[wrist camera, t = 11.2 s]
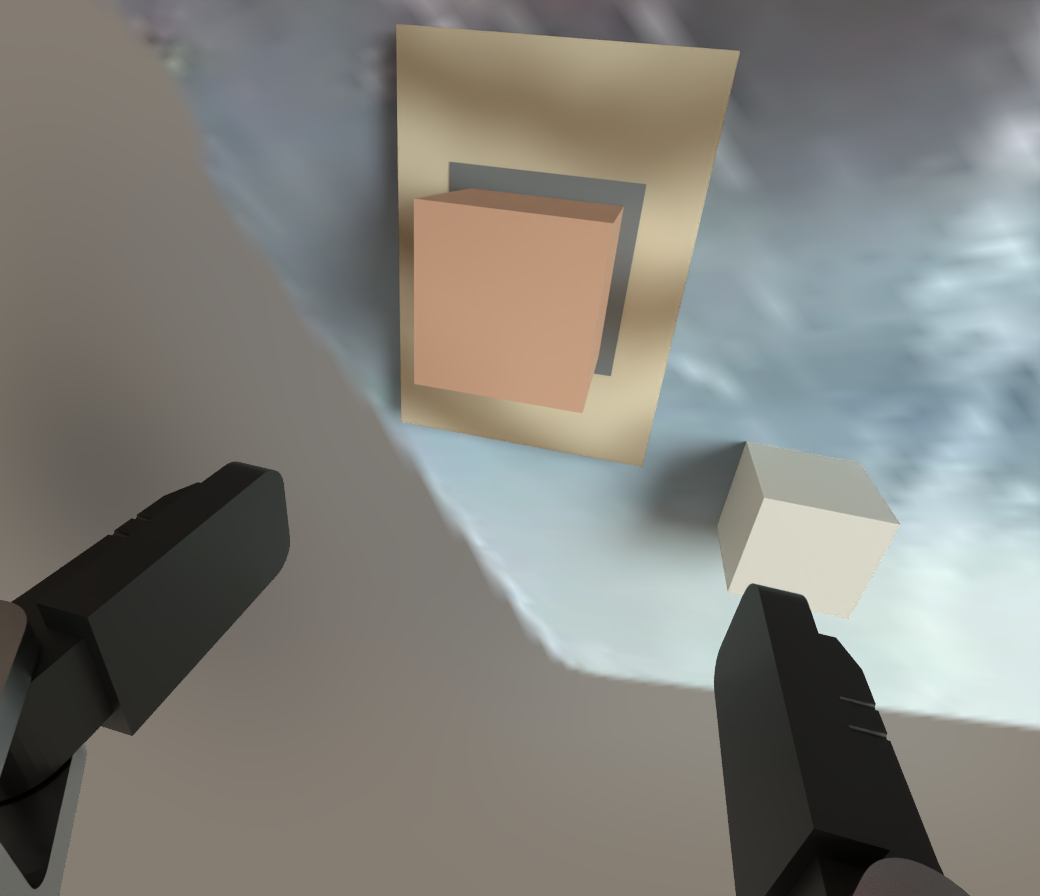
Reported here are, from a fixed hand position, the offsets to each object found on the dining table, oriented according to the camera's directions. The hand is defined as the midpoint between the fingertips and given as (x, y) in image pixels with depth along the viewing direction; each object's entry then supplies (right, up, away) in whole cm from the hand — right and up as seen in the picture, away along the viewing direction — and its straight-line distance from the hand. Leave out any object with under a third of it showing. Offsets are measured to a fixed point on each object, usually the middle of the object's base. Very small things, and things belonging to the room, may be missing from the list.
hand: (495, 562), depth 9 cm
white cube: (+13, 0, +17) cm, 22 cm away
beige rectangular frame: (+1, +10, +15) cm, 18 cm away
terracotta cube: (+1, +9, +13) cm, 16 cm away
